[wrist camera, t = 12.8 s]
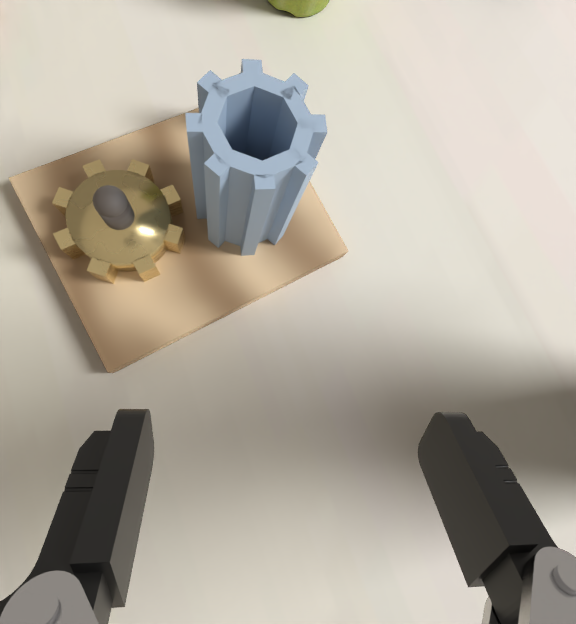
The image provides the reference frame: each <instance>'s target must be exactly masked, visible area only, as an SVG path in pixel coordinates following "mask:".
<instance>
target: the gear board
mask: <svg viewBox="0 0 576 624" xmlns="http://www.w3.org/2000/svg"><path fill="white" fill-rule="evenodd" d="M186 113H199V108H197V109H195V110H192V111H189V112H186ZM99 159H100V161H101V163H102V164H103V166H104V168H105V170H106V171H109V170H125V171H127V170H128V167H129V165H130V162H131V160H132V159H134V160H137V161H139V162H142V163H145V164H148V165H149V166H150V169H151V172H152V175H153V178H154V182H153V183H154V184H155V185H156V186H157V187H158V188H159V189H160V190H161V189H163V188H165V187H168V186H170V185H173V186H174V188H175V190H176V191H177V193H178V195H179V197H180V199H181V203H182V208H183V213H180V214H178V215H176V216H173V217H172V220H173V225H175V226H178V227H181V228H183V230H184V235H185V241H184V244H183V247H182V250H181V253H180V254H179V253H176V252H173V251H170V250H167V251H166V253H165V254H164V255H163V256H162V257H161V258H160V259H159V260H158V261H157V262H156V263H155V265H156V267H157V269H158V271H159V273H160V275H159V276H156V277H154V278H152V279H150V280H148V281H146V282H144V280H143V279H142V278H141V276H140V275H139V274H138V272H137V271H134V272H118V274H117V277H116V279H115V282H114V284H112V283H109V282H106V281H103V280H99V279H96V278H95V277H94V276H93V275H91V274H90V273H89V272H88V271H87V268H88V266H89V263H90V261H91V259H90V258H89V257H88V256H87V255H86V254H85V255H82V256H80V257H78V258H75V259H72V258H71V257H69V256H68V255H67V254H66V253H64V252H63V251H62V250H61V249H60V247H59V245H58V243H57V241H56V239H55V237H54V235H53V233H56V232H58V231H60V230H63V229H65V228H67V225H66V217H65V216H64V215H63V214H62V213H61V212H60V211H59V210H58V209H57V208H56V207H55V206H54V205H53V204H52V202H53V200H54V197H55V195H56V193H57V190H58V188H59V187H61V188H64V189H67V190H70V191H73V192H74V190H75V189H76V188H77V187H78V186H79V185H80V184H81V183H82V182H83V181H84V180H86V179H87V178H88V176H87V174H86V172H85V170H84V168H83V165H86V164H88V163H91V162H94V161H96V160H99ZM9 180H10V182H11V184H12V186H13V188H14V190H15V192H16V194H17V195H18V197H19V199H20V201H21V203H22V205H23V207H24V209H25V211H26V213H27V215H28V217H29V219H30V221H31V223H32V225H33V227H34V229H35V231H36V233H37V235H38V237H39V239H40V241H41V243H42V245H43V247H44V248H45V250H46V252H47V254H48V256H49V258H50V260H51V262H52V264H53V266H54V268H55V270H56V272H57V274H58V276H59V278H60V280H61V282H62V284H63V286H64V288H65V290H66V292H67V294H68V296H69V298H70V300H71V301H72V303H73V305H74V307H75V309H76V311H77V313H78V315H79V317H80V319H81V321H82V323H83V325H84V327H85V329H86V331H87V333H88V335H89V337H90V339H91V341H92V343H93V345H94V347H95V349H96V351H97V353H98V354H99V356H100V358H101V360H102V362H103V364H104V366H105V368H106V370H107V372H108V373H114V372H116V371H118V370H120V369H122V368H124V367H126V366H128V365H130V364H132V363H134V362H136V361H138V360H140V359H142V358H144V357H146V356H148V355H150V354H152V353H154V352H156V351H158V350H160V349H162V348H164V347H166V346H168V345H170V344H172V343H174V342H175V341H177V340H179V339H181V338H183V337H185V336H187V335H189V334H191V333H193V332H195V331H197V330H199V329H201V328H203V327H205V326H207V325H209V324H211V323H213V322H215V321H217V320H219V319H221V318H223V317H225V316H227V315H229V314H231V313H233V312H235V311H237V310H239V309H241V308H243V307H244V306H246V305H248V304H250V303H252V302H254V301H256V300H258V299H260V298H262V297H264V296H266V295H268V294H270V293H272V292H274V291H276V290H278V289H280V288H282V287H284V286H286V285H288V284H290V283H292V282H294V281H296V280H298V279H300V278H302V277H304V276H306V275H308V274H310V273H312V272H313V271H315V270H317V269H319V268H321V267H323V266H325V265H327V264H329V263H331V262H333V261H335V260H337V259H339V258H341V257H343V256H344V255H345V254H346V253H347V252H348V249H347V247H346V246H345V244H344V242H343V240H342V238H341V237H340V235H339V233H338V231H337V229H336V228H335V226H334V224H333V222H332V220H331V219H330V217H329V215H328V213H327V211H326V210H325V208H324V206H323V204H322V202H321V201H320V199H319V197H318V195H317V193H316V192H315V190H314V188H313V186H312V184H311V183H310V181H309V183H308V185H307V187H306V189H305V191H304V193H303V195H302V197H301V199H300V201H299V203H298V206H297V208H296V210H295V212H294V214H293V216H292V218H291V220H290V222H289V224H288V226H287V228H286V230H285V233H284V235H283V236H282V238H281V239H280V240H279V241H278V242H277V243H276V245H274V244H273V243H271V242H270V241H269V240H268V239H266V240H264V241H262V242H260V243H258V245H257V248H256V251H255V255H246V256H241V247H240V246H238V245H235V244H232V243H229V242H226V241H225V242H224V243H223V244H222V245H221V246H220V247H219V248H218V247H217V246H215V245H214V244H213V243H212V242H211V241H209V240H208V227H207V219H197V213H196V205H195V196H194V188H193V179H192V171H191V163H190V154H189V146H188V137H187V128H186V115H185V113H184V114H181V115H178V116H176V117H173V118H170V119H167V120H165V121H162V122H159V123H157V124H154V125H151V126H148V127H146V128H143V129H140V130H138V131H135V132H132V133H129V134H127V135H124V136H121V137H119V138H116V139H113V140H110V141H108V142H105V143H102V144H99V145H97V146H94V147H91V148H89V149H86V150H83V151H80V152H78V153H75V154H72V155H70V156H67V157H64V158H61V159H59V160H56V161H53V162H51V163H48V164H45V165H42V166H40V167H37V168H34V169H32V170H29V171H26V172H23V173H21V174H18V175H15V176H13V177H10V178H9ZM93 205H94V208H95V209H96V211H97V212H98V214H99V215H100V216H101V218H102V219H103V220H104V222H105V223H106V224H107V226H109V227H110V228H112V229H115V230H124V229H126V228H128V227H130V226H131V225H132V223H133V221H134V218H135V215H134V211H133V209H132V207H131V205H130V203H129V201H128V199H127V197H126V195H125V194H124V192H123V191H122V190H121V189H119V188H117V187H115V186H111V185H106V186H102V187H100V188H98V189H97V190H96V192H95V193H94V195H93Z"/></svg>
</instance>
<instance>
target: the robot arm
mask: <svg viewBox="0 0 576 624" xmlns="http://www.w3.org/2000/svg"><path fill="white" fill-rule="evenodd" d="M153 457H154V440H153V432H152V424H151V416H150V411H149V409H119V410H118V412H117V414H116V416H115V419H114V423H113V426H112V429H111V431H94V432H93V433H92V435H91V436H90V437H89V438H88V439H87V440H86V442H85V443H84V444H83V445H82V446H81V447H80V449H79V451H78V453H77V456H76V459H75V461H74V464H73V467H72V469H71V474H70V475H69V478H68V480H67V483H66V486H65V491H64V492H63V494H62V496H61V499H60V502H59V504H58V507H57V510H56V512H55V515H54V518H53V520H52V523H51V526H50V528H49V531H48V534H47V537H46V539H45V542H44V545H43V547H42V550H41V553H40V555H39V558H38V560H37V563H36V565H35V567H34V568H33V570H32V572H31V573H30V575H29V576H28V577H27V579H26V580H25V581H24V582H23V583H22V584H21V585H20V587H19V588H17V589H16V590H15V591H14V592H13V593H12V594H11V595H9V596H8V597H6V598H5V599H4V600H2V601H0V624H108V621H109V617H110V612H111V608H114V607H125V602H126V597H127V592H128V587H129V582H130V577H131V572H132V567H133V562H134V557H135V552H136V547H137V542H138V537H139V532H140V526H141V521H142V516H143V511H144V506H145V501H146V496H147V491H148V486H149V481H150V476H151V471H152V465H153ZM418 458H419V463H420V466H421V468H422V471H423V473H424V476H425V478H426V481H427V484H428V486H429V489H430V491H431V494H432V496H433V499H434V501H435V504H436V506H437V509H438V511H439V514H440V517H441V519H442V522H443V524H444V527H445V529H446V532H447V534H448V537H449V539H450V542H451V545H452V547H453V550H454V552H455V555H456V557H457V560H458V562H459V565H460V567H461V570H462V572H463V575H464V578H465V580H466V583H467V585H468V587H479V586H485V588H486V591H487V593H488V595H489V597H488V598H487V600H486V603H485V607H484V613H483V619H482V624H576V557H575V556H573V555H572V554H570V553H569V552H567V551H565V550H563V549H560V548H558V547H557V546H556V544H555V543H554V541H553V540H552V538H551V537H550V535H549V533H548V532H547V530H546V528H545V527H544V525H543V523H542V522H541V520H540V518H539V516H538V515H537V513H536V511H535V510H534V508H533V506H532V505H531V503H530V501H529V499H528V498H527V496H526V494H525V493H524V491H523V489H522V488H521V486H520V484H519V483H517V479H516V477H515V476H514V474H513V472H512V470H511V469H509V468H508V464H507V462H506V460H505V459H504V457H503V455H502V453H501V452H500V450H499V448H498V447H497V446H496V445H495V444H494V443H493V442H492V441H491V440H490V439H489V438H488V437H487V436H486V435H485V434H484V433H483V432H476V430H475V428H474V427H473V425H472V423H471V421H470V419H469V418H468V417H467V415H466V414H464V413H460V412H438V413H435V414H434V416H433V418H432V419H431V421H430V423H429V425H428V427H427V429H426V431H425V433H424V435H423V437H422V439H421V441H420V443H419V446H418Z"/></svg>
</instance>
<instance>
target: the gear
mask: <svg viewBox="0 0 576 624" xmlns="http://www.w3.org/2000/svg"><path fill="white" fill-rule="evenodd" d="M83 168H84V170H85V172H86V174H87V176H88V178H87V179H86V180H84V181H83V182H82V183H81V184H80V185H79V186H78V187H77V188H76V189H75V190H74V192H73V191H70V190H67V189H64V188H61V187H59V188H58V190H57V193H56V195H55V197H54V200H53V202H52V204H53V205H54V206H55V207H56V208H57V209H58V210H59V211H60V212H61V213H62V214H63V215H64V216H65V217H66V225H67V228H65V229H63V230H60V231H58V232H56V233H53V235H54V237H55V239H56V241H57V243H58V245H59V247H60V249H61V250H62V251H63V252H64V253H66V254H67V255H68V256H69V257H71V258H72V259H75V258H78V257H80V256H82V255H85V254H86V255H87V256H88V257H89V258H90V259H91V261H90V263H89V266H88V268H87V271H88V272H89V273H90V274H91V275H93V276H94V277H95V278H96V279H99V280H103V281H106V282H109V283H112V284H114V282H115V279H116V277H117V274H118V272H134V271H137V272H138V274H139V275H140V276H141V278H142V279H143V280H144V282H146V281H148V280H150V279H152V278H154V277H156V276H159V275H160V273H159V271H158V269H157V267H156V265H155V263H156V262H157V261H158V260H159V259H160V258H161V257H162V256H163V255H164V254H165V253H166V251H167V250H170V251H173V252H176V253H179V254H180V253H181V250H182V247H183V244H184V241H185V235H184V230H183V228H181V227H178V226H175V225H173V220H172V217H173V216H176V215H178V214H180V213H183V208H182V203H181V199H180V197H179V195H178V193H177V191H176V190H175V188H174V186H173V185H170V186H168V187H165V188H163V189H161V190H160V189H159V188H158V187H157V186H156V185H155V184H154V183H153V182H154V178H153V175H152V172H151V169H150V166H149V165H148V164H145V163H142V162H139V161H137V160H134V159H132V160H131V162H130V165H129V167H128V170H127V171H125V170H109V171H106V170H105V168H104V166H103V164H102V163H101V161H100V159H99V160H96V161H94V162H91V163H88V164H86V165H83ZM106 185H111V186H115V187H117V188H119V189H121V190H122V191H123V192H124V194H125V195H126V197H127V199H128V201H129V203H130V205H131V207H132V209H133V211H134V215H135V218H134V221H133V223H132V225H131V226H130V227H128V228H126V229H124V230H115V229H112V228H110V227H109V226H107V224H106V223H105V222H104V220H103V219H102V218H101V216H100V215H99V214H98V212H97V211H96V209H95V208H94V205H93V195H94V193H95V192H96V190H97V189H98V188H100V187H102V186H106Z"/></svg>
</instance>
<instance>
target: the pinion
mask: <svg viewBox="0 0 576 624" xmlns="http://www.w3.org/2000/svg"><path fill="white" fill-rule="evenodd" d="M197 89H198V105H199V113H185V115H186V128H187V137H188V146H189V154H190V163H191V171H192V179H193V188H194V196H195V205H196V213H197V219H207V227H208V240H209V241H211V242H212V243H213V244H214V245H215V246H217V247H218V248H219V247H220V246H221V245H222V244H223V243H224V242H225V241H226V242H229V243H232V244H235V245H238V246H240V247H241V256H246V255H255V251H256V248H257V245H258V243H260V242H262V241H264V240H266V239H268V240H269V241H270V242H271V243H273V244H274V245H276V243H277V242H278V241H279V240H280V239H281V238H282V236H283V235H284V233H285V230H286V228H287V226H288V224H289V222H290V220H291V218H292V216H293V214H294V212H295V210H296V208H297V206H298V203H299V201H300V199H301V197H302V195H303V193H304V191H305V189H306V187H307V185H308V183H309V181H310V179H311V176H312V174H313V172H314V170H315V168H316V166H317V164H318V162H317V161H316V160H315V158H316V156H317V154H318V151H319V149H320V147H321V145H322V143H323V141H324V138H325V136H326V134H327V126H326V119H325V115H311V114H310V112H309V110H308V108H307V107H306V105H305V103H304V98H305V95H306V92H307V89H308V85H307V84H306V83H305V82H304V81H303V80H302V79H300V78H299V77H298V76H297V75H296V74H295V73H293V74H292V75H291V76H290V77H289V78H288V79H287V80H286V81H285V82H284V81H281V80H279V79H276V78H274V77H271V76H269V75H266V74H264V73H263V71H262V62H261V60H249V59H242V65H241V73H240V74H238V75H235V76H232V77H229V78H226V79H224V80H221V79H220V78H219V77H218V76H217V75H215V74H214V73H213V72H212V71H211V70H210V71H209V72H208V73H207V74H206V75H205V76H203V77H202V78H201V79H200V80H199V81H198V82H197Z"/></svg>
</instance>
